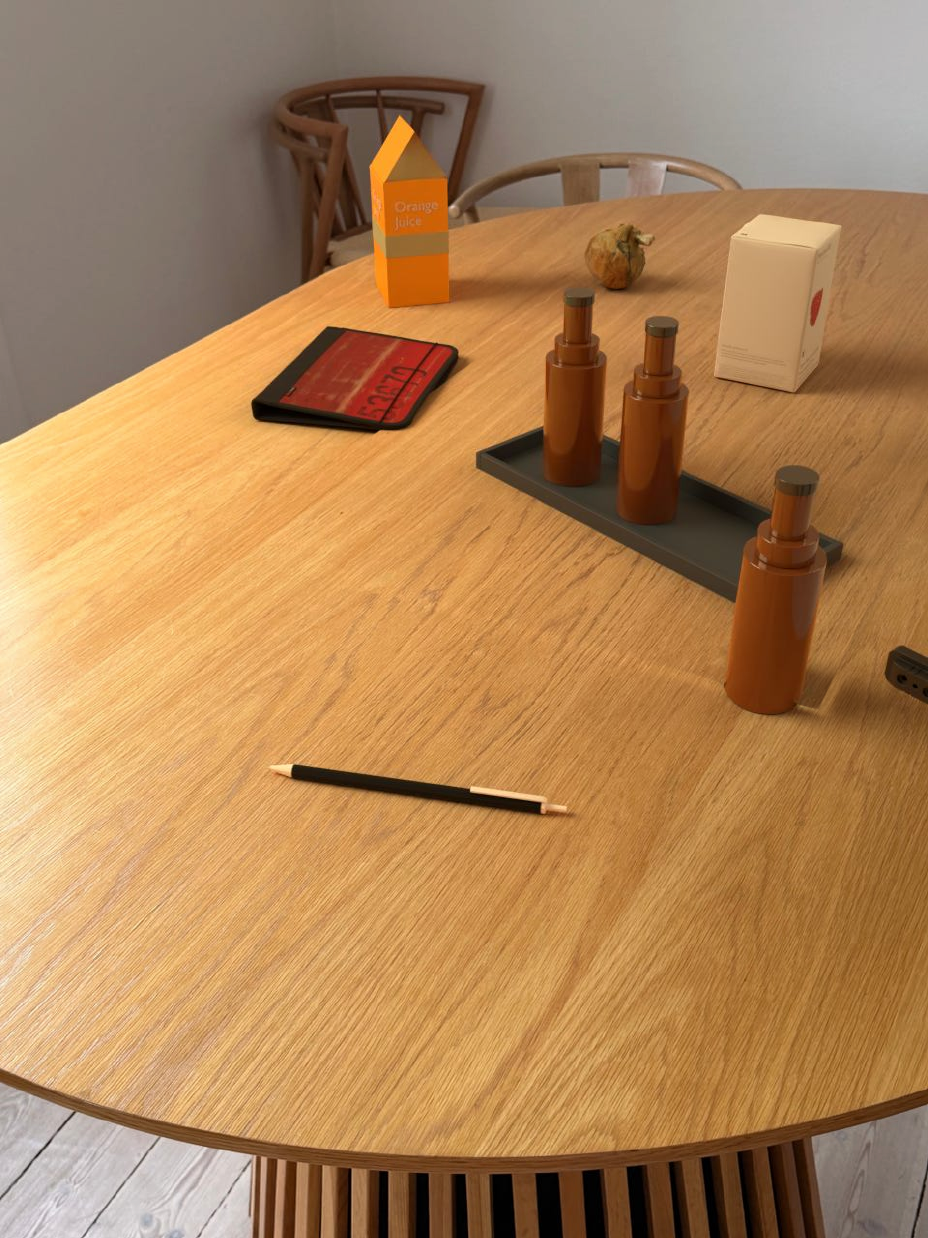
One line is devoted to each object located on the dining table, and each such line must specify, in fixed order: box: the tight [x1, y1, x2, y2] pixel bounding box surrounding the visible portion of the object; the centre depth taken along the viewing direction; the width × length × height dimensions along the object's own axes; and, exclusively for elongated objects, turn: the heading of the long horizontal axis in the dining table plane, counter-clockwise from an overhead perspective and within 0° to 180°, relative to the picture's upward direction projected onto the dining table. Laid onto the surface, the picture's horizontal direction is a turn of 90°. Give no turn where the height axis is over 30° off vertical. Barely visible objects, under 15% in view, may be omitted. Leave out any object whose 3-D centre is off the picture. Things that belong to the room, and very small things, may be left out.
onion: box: [583, 222, 656, 290], centre depth 149 cm, size 8×8×8 cm
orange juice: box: [368, 115, 450, 309], centre depth 144 cm, size 8×9×20 cm
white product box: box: [713, 213, 842, 393], centre depth 124 cm, size 9×9×15 cm
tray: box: [475, 425, 844, 605], centre depth 103 cm, size 31×11×2 cm, turn 41°
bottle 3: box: [723, 464, 827, 715], centre depth 79 cm, size 5×5×17 cm
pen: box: [266, 763, 568, 815], centre depth 75 cm, size 1×19×1 cm, turn 78°
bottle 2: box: [615, 315, 690, 525], centre depth 98 cm, size 5×5×17 cm
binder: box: [250, 325, 460, 431], centre depth 126 cm, size 16×2×21 cm
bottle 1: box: [542, 286, 608, 487], centre depth 104 cm, size 5×5×17 cm
